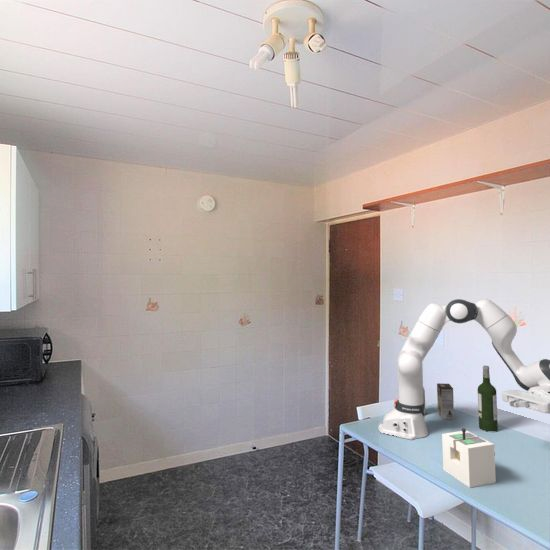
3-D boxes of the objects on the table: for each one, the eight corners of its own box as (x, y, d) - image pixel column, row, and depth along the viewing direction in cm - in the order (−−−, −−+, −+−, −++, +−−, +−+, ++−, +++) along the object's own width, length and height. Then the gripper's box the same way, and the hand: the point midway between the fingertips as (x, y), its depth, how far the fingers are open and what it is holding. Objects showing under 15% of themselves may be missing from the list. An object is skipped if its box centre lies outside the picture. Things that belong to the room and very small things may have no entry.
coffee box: (437, 412, 199) (436, 383, 200) (450, 413, 198) (449, 383, 198) (441, 418, 190) (440, 387, 191) (454, 419, 189) (453, 388, 190)
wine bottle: (478, 424, 181) (475, 363, 182) (496, 427, 178) (494, 365, 179) (479, 430, 174) (477, 367, 175) (499, 433, 171) (496, 368, 171)
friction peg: (482, 455, 139) (480, 422, 139) (495, 462, 133) (493, 428, 134) (454, 459, 136) (453, 426, 136) (466, 467, 130) (465, 432, 130)
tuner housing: (467, 465, 141) (466, 429, 142) (495, 482, 129) (494, 443, 129) (443, 469, 138) (442, 433, 139) (469, 487, 126) (468, 447, 126)
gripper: (516, 384, 154) (489, 390, 151) (564, 395, 135) (534, 402, 131) (519, 399, 154) (491, 405, 151) (567, 413, 134) (537, 420, 131)
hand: (512, 404), depth 141 cm, fingers closed
